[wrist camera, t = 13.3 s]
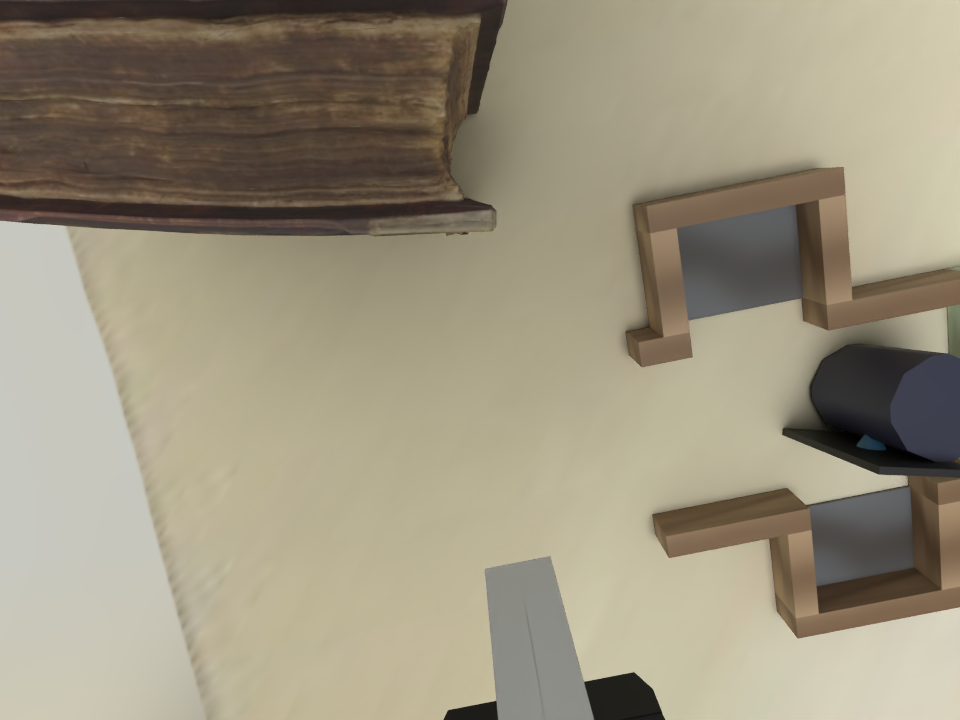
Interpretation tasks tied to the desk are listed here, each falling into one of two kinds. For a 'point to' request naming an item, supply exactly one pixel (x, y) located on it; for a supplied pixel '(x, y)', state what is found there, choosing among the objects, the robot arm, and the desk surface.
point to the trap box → (830, 305)
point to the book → (241, 114)
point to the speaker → (889, 410)
